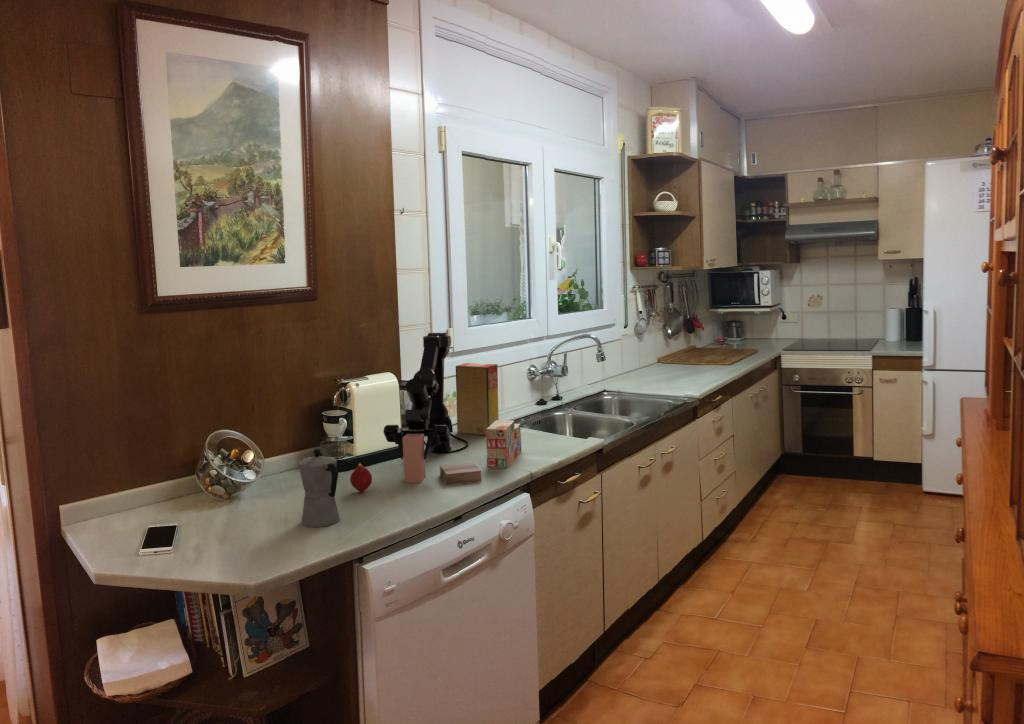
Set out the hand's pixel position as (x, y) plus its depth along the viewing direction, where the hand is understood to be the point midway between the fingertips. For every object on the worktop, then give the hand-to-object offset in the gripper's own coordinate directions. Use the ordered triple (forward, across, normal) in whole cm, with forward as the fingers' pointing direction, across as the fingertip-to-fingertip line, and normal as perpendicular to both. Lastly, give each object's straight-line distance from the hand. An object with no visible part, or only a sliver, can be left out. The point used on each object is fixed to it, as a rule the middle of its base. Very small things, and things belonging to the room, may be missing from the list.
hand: (413, 458), depth 215 cm
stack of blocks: (-13, +23, +23) cm, 35 cm away
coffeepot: (+30, -14, -20) cm, 38 cm away
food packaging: (-40, +9, +49) cm, 64 cm away
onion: (+12, -12, -3) cm, 18 cm away
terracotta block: (+4, 0, +6) cm, 7 cm away
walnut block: (+3, +13, +7) cm, 15 cm away
